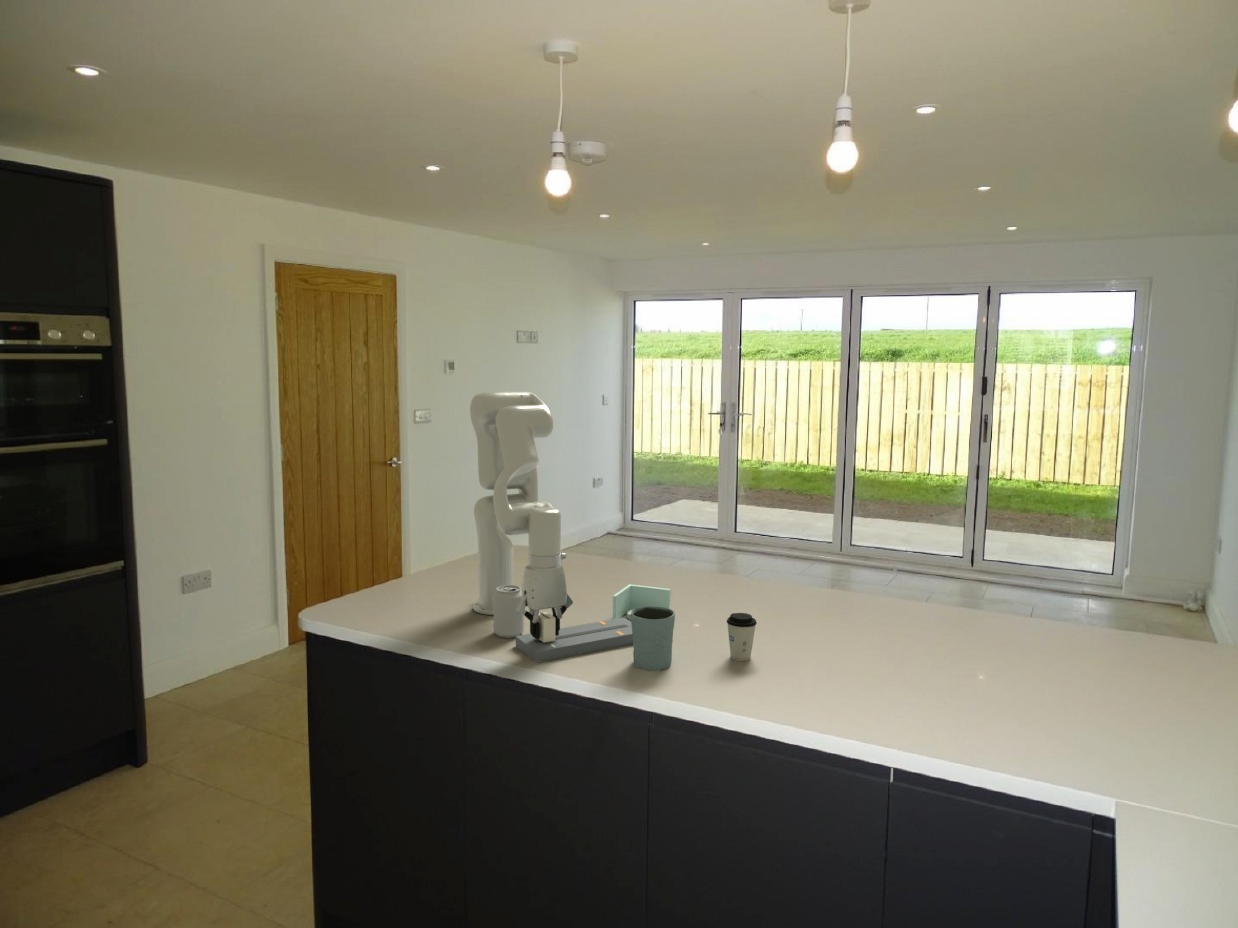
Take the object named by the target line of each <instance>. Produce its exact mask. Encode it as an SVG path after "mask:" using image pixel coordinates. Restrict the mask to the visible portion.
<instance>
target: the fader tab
mask: <svg viewBox="0 0 1238 928" xmlns="http://www.w3.org/2000/svg"><path fill="white" fill-rule="evenodd" d="M552 615H553V614H550V613H548V611H544V612H539V615H538V622H539V624H540V638H539V639H540V640H541V641H542V642H550V641H555V617H553V616H552Z"/></svg>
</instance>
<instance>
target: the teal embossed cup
mask: <svg viewBox="0 0 1238 928" xmlns="http://www.w3.org/2000/svg"><path fill="white" fill-rule="evenodd" d="M675 618H676V612H675V611H674V610H673V609H671V608H670V609H668V608H664V607H654V606H649V607H640V608H636V609H634V610H633V611H631V620H630V621H631V624H632V634H633V644H632V645H633V652H632V654H633V664H634V666H635V667H636V668H637V669H640V670H641V669H642V670H645V671H661V670H665V669H666V670H667V669H668V668H670V666H671V665H672V657H673V652H672V651H673V641H674V640H673V639H674V627H675V620H676V619H675Z"/></svg>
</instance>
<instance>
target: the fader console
mask: <svg viewBox="0 0 1238 928" xmlns="http://www.w3.org/2000/svg"><path fill="white" fill-rule="evenodd" d="M628 645H633V634H632V624H631V620H628V618H625V617H624V616H622V617H621V618H617V619H613V618H612V619H606V620H601V621H595V622H589V623H585V624H582V623H581V624H577V625H572V626H565V627H560V630H559V635H558V636H556V635H555V641H550V642H542V641H541V640H540V639H535V638H534V637H533V636H532V635H531V634H530V633H526V634H520V635H519V636H516V637H515V648H517V649H519V650H520V651H521V652H523V654H525V655H526V656H527V657H529V658H530V659H531V660H532V661H534V662H535V663H541V662H545V661H552V660H555V659H560V658H565V657H571V655H572V656H576V654H577V655H580V654H579V653H582V654H588V653H591V652H592V653H593V652H598V651H602V649H603V650H607V648H608V649H612V648H618V647H623V646H628Z"/></svg>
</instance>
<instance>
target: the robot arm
mask: <svg viewBox="0 0 1238 928" xmlns="http://www.w3.org/2000/svg"><path fill="white" fill-rule="evenodd" d="M469 416H470V421H471V423H472V428H473V430H474V432H475V437H476V441H477V468H478V469H477V470H478V471H477V472H478V481H479V485H480V487H482V488H483V489H485V490H486V491H493V495H491V494H490V495H486V496H483V497H482V496H481V497H480V498H478V500H477V501H476V502H475V504H474V507H473V516H474V521H475V527H476V535H477V536H476V537H477V557H478V559H477V560H478V563H477V564H478V565H477V566H478V567H477V568H478V569H477V570H478V600H477V601H475V602H474V603H473V604H472V608H473V611H475V612H476V613H478V614H482V615H490V616H494V603H493V594H494V593H495V592H496V588H497V587H499V586H503V585H515V584H514V582H515V581H514V546H513V542H512V540H511V539H510V538H509V536H517V535H527V534H528V565H526V566H525V567H524V572H523V577H522V586H521V591H522V600H521V602H520V604H519V605H518V607H517V609H516V611H517V612H519V613H521V614H522V615H524V618H526V619H528V620H529V634H531V635H532V636H533V637H534V638H535V639H539V638H540V624H539V622H538V615H539V613H540V610H541V611H542V610H548V609H551V613H552V614H551V615H552V616H553V617H555V635H556V636H558V635H559V630H560V628H561V619H562V618H563V615H564V613H566V611H567V610H568V609H569V608H570V607H571V606H572V605H573V604H574V602H573V600H572V598H571V597H570V596H569V594H568V589H567V588H568V587H567V586H568V585H567V579H566V573H565V572H566V571H565V567H564V564H562V563H563V562H562V561H563V560H565V559H566V557H567V555H566V553H565V552H562V540H561V539H562V516H561V515H562V514H561V512H560V510H559V509H558V508H555V507H554V506H553V505H552V504H551V503H550V502H548V501H539V486H538V485H539V482H538V478H539V477H538V467H537V466H538V464H539V457H538V451H537V447H536V442H535V439H538V438H542V439H543V438H548V437H549V436H550V435H551V434H552V432H553V431H554V430H553V429H554V419H553V415H552V412H551V411H550V409H549V407H548V405H546V403H545V402H544V401H543V400H542V399H540V398H539V396H538V395H536V394H535V393H534V392H532V391H531V392H530V391H485V392H480V393H477V394H475V395H474V396H473V397H472V398H471V401H470V405H469ZM507 490H517V491H518V493H510V494H509V493H508V491H507ZM526 607H527V608H528V610H526Z"/></svg>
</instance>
